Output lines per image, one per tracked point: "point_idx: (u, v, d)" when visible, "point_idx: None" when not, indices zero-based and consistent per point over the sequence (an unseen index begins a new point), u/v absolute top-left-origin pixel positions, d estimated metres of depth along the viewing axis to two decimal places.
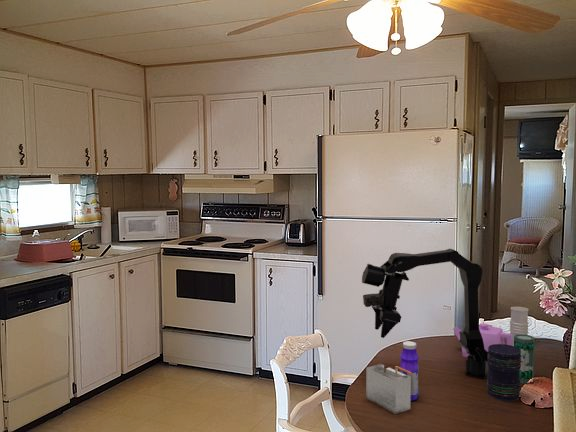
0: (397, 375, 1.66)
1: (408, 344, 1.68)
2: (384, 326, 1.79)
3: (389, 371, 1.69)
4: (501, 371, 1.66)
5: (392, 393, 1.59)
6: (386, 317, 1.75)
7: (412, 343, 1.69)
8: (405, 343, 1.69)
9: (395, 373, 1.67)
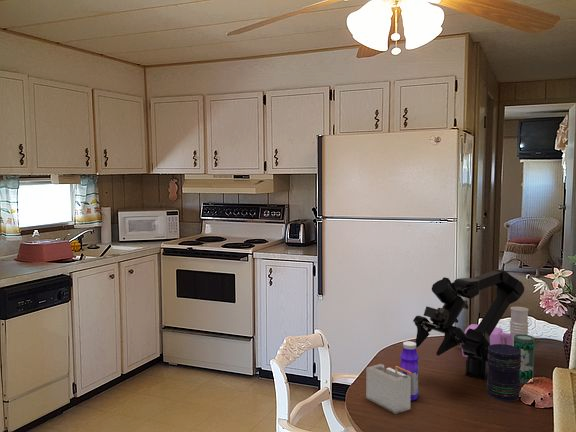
0: (397, 375, 1.66)
1: (408, 344, 1.68)
2: (446, 344, 1.69)
3: (389, 371, 1.69)
4: (501, 371, 1.66)
5: (392, 393, 1.59)
6: (459, 334, 1.67)
7: (412, 343, 1.69)
8: (405, 343, 1.69)
9: (395, 373, 1.67)
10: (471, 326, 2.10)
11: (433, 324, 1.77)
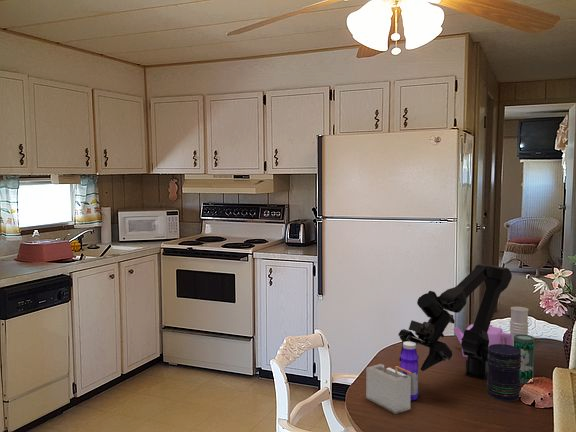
0: (397, 375, 1.66)
1: (408, 344, 1.68)
2: (430, 359, 1.66)
3: (389, 371, 1.69)
4: (501, 371, 1.66)
5: (392, 393, 1.59)
6: (444, 350, 1.64)
7: (412, 343, 1.69)
8: (405, 343, 1.69)
9: (395, 373, 1.67)
10: (471, 326, 2.10)
11: (418, 338, 1.73)
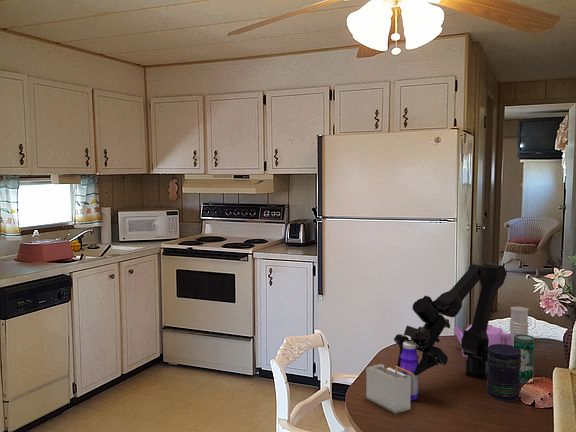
0: (397, 375, 1.66)
1: (408, 344, 1.68)
2: (423, 363, 1.66)
3: (389, 371, 1.69)
4: (501, 371, 1.66)
5: (392, 393, 1.59)
6: (439, 355, 1.63)
7: (412, 343, 1.69)
8: (405, 343, 1.69)
9: (395, 373, 1.67)
10: None
11: None
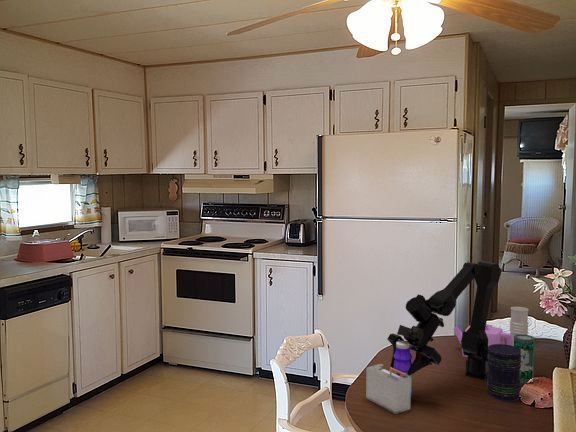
0: None
1: (401, 344, 1.66)
2: (417, 363, 1.64)
3: None
4: (501, 371, 1.66)
5: (392, 393, 1.59)
6: (432, 355, 1.61)
7: (405, 343, 1.67)
8: (398, 343, 1.67)
9: None
10: None
11: None
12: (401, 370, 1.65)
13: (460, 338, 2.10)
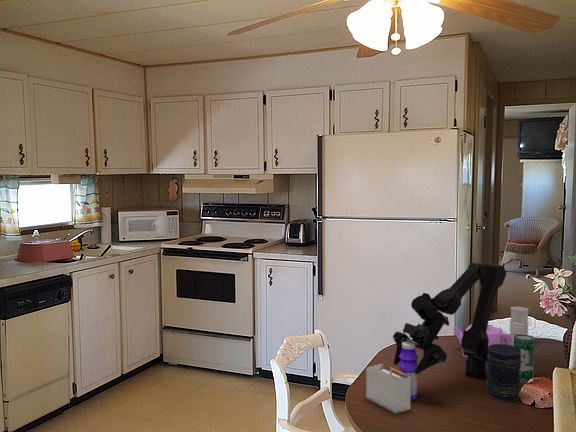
0: None
1: (407, 344, 1.68)
2: (425, 362, 1.65)
3: None
4: (501, 371, 1.66)
5: (392, 393, 1.59)
6: (438, 352, 1.62)
7: (411, 343, 1.69)
8: (404, 343, 1.69)
9: None
10: None
11: (412, 341, 1.72)
12: (406, 370, 1.66)
13: (460, 338, 2.10)
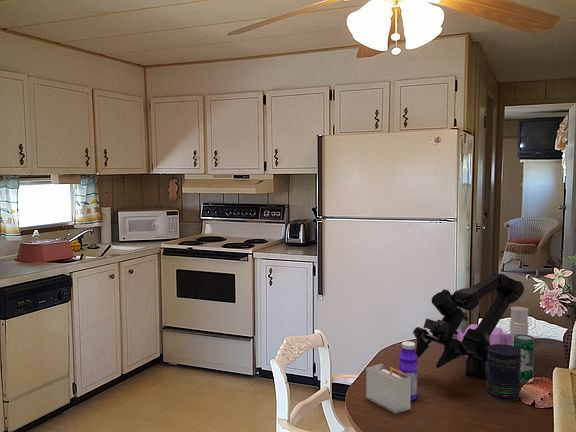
0: None
1: (407, 344, 1.68)
2: (445, 356, 1.70)
3: None
4: (501, 371, 1.66)
5: (392, 393, 1.59)
6: (458, 347, 1.67)
7: (411, 343, 1.69)
8: (404, 343, 1.69)
9: None
10: (471, 326, 2.10)
11: (433, 336, 1.77)
12: (406, 370, 1.66)
13: (460, 338, 2.10)
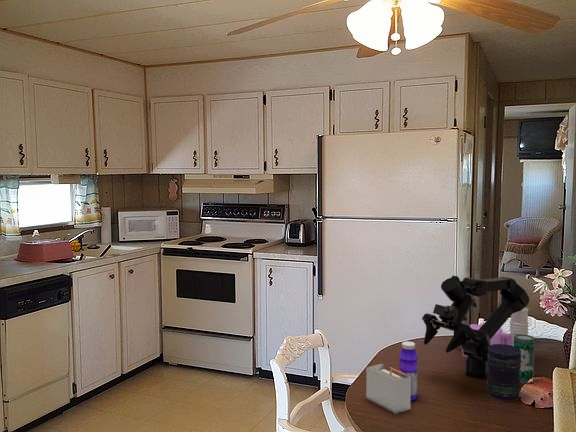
0: None
1: (407, 344, 1.68)
2: (455, 341, 1.71)
3: None
4: (501, 371, 1.66)
5: (392, 393, 1.59)
6: (468, 332, 1.69)
7: (411, 343, 1.69)
8: (404, 343, 1.69)
9: None
10: (471, 326, 2.10)
11: (442, 322, 1.79)
12: (407, 370, 1.66)
13: None
